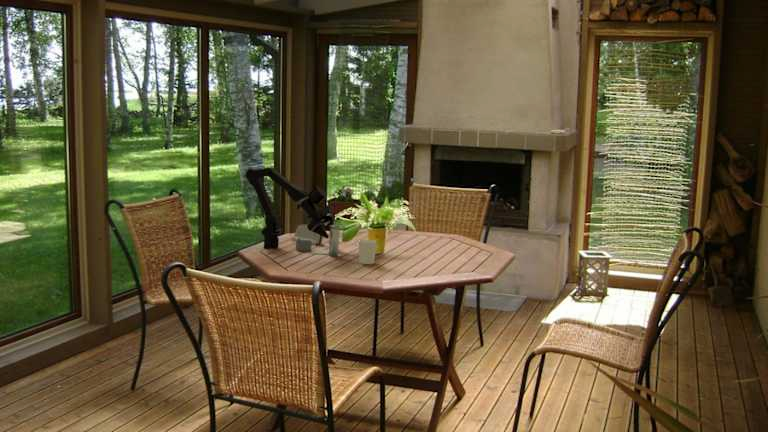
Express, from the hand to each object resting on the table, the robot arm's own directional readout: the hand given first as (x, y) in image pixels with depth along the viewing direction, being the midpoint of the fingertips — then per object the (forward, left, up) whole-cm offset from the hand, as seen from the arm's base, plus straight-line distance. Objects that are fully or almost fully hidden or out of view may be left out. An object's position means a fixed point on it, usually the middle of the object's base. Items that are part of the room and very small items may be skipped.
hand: (332, 236), depth 382 cm
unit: (-13, +12, -9) cm, 19 cm away
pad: (-5, +6, -9) cm, 12 cm away
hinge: (-10, +31, -9) cm, 34 cm away
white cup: (+15, -14, -9) cm, 23 cm away
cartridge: (+1, 0, -9) cm, 9 cm away
